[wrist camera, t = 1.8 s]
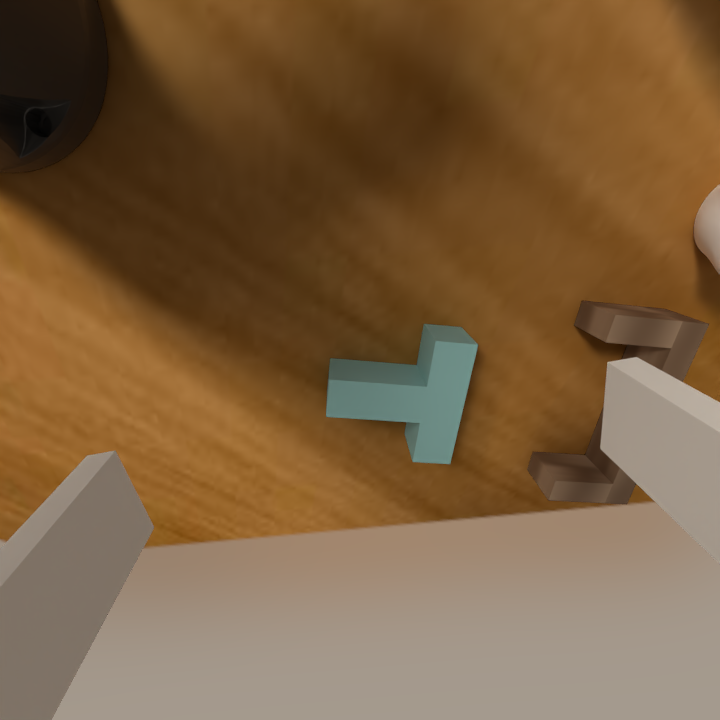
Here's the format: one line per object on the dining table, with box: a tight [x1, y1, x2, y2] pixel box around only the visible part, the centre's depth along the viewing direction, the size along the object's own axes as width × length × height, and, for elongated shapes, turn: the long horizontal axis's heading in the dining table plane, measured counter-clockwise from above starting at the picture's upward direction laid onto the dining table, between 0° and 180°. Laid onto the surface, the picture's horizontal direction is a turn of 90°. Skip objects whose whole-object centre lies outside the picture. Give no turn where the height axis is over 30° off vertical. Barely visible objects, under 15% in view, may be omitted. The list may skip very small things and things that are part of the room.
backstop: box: [527, 301, 709, 504], centre depth 32 cm, size 7×16×4 cm, turn 174°
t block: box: [326, 324, 478, 464], centre depth 31 cm, size 10×10×4 cm
